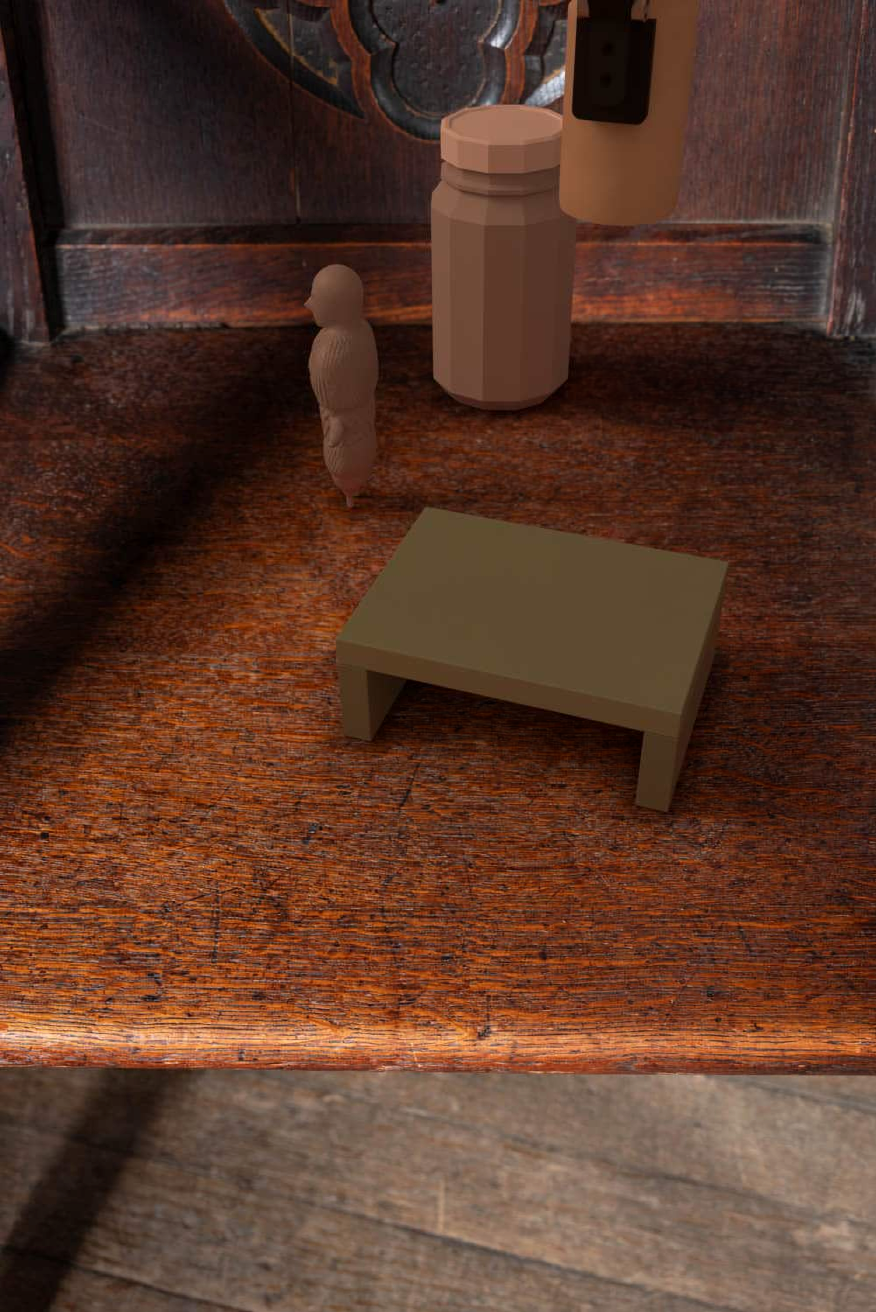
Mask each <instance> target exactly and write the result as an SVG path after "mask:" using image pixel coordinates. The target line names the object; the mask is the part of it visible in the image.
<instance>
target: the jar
mask: <svg viewBox="0 0 876 1312" xmlns="http://www.w3.org/2000/svg"><path fill="white" fill-rule="evenodd" d="M562 121H563V114H560V113H558V112H556V111H554V110H551V109H550V108H545V107H538V106H531V105H525V104H486V105H479V106H473V107H467V108H462V109H460V110H457V111H455V112H454V113H451V114H449V115H447V116H445V117H444V118H442V119H441V123H440V158H441V159H442V160H444V162H441V166H440V167H441V168H440V181H439V183H438V184H437V185H436V186H435V188H434V189H433V191H432V193H431V202H430V232H431V233H430V235H431V236H430V237H431V238H430V241H431V244H430V245H431V293H432V294H431V302H432V304H431V305H432V307H431V309H432V311H431V313H432V373H433V377H432V378H433V379H434V381H435V382H436V383H438V385H439V386H440V387H441V388H442V389H443V391H444V392H445V393H447V394H448V395H449V396H450V397H452V398H453V399H454V400H455V401H456V402H457V403H458V404H462V405H466V406H468V407H472V408H476V409H479V410H483V411H518V410H522V409H527V408H530V407H534V406H537V405H540V404H542V403H544V402H545V401H546V400H547V399H548V398H550V397H551V396H553V394H554V393H556V392H557V390H558V389H559V388H560V387H562V386H563V384H564V383H565V382H566V381H567V380H568V379H569V363H570V362H569V361H570V345H571V331H572V330H571V328H572V311H573V296H574V295H573V294H574V277H575V264H576V263H575V261H576V242H577V228H578V226H577V225H578V224H577V223H578V219H576V218H574V217H572V216H570V215H568V214H566V213H565V212H564V211H563V210H562V209H561V207H560V201H559V182H560V161H561V141H562Z"/></svg>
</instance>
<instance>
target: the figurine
mask: <svg viewBox="0 0 876 1312" xmlns="http://www.w3.org/2000/svg"><path fill="white" fill-rule="evenodd" d="M310 295H311V296H309V298H308V299H307V300H306V301H305V302H304V304H303V306H304V307H305V308H306V309H307V310H309V312H311V313H312V315H313V318H314V321H315V324H316V326H318V327H319V328H321V329H320V330H319V332H318V333H317V334H316V336H315V338H314V339H313V340H312V341H313V342H312V345H311V351H310V356H309V359H308V365H307V367H308V369H309V374H310V376H309V379H310V385H311V387H312V390H313V392H314V395H315V397H316V399H317V400H316V401H317V403H318V404H319V407H318V409H319V414H320V420H321V427H322V428H321V429H322V432H323V437H324V438H323V449H322V450H323V451H322V452H323V459H324V462H325V463H324V464H325V466H326V468H327V471H328V472H329V474H330V475H331V478H332V481H333V483H334V485H335V486H336V487H337V488H339V490H340V491H342V493H343V495H345V498H346V507H347V508H349V509H351V508H354V507H355V502H354V497H359V496H360V495H361V494H360V488H362V487H363V486H364V485H365V484H366V483H367V482H368V480H369V478H370V477H371V474H372V470H373V464H374V461H375V459H376V456H377V451H378V448H377V447H378V443H377V442H378V441H377V439H378V438H377V431H376V428H375V425H376V414H377V413H376V412H377V411H376V410H377V406H376V400H377V399H376V398H375V390H376V388H377V384H378V381H379V358H378V349H377V346H376V338H375V335H374V331H373V328H372V326H371V325H370V324H369V322H368V320H367V319H364V318H363V317H362V315H363V308H364V298H365V292H364V285H363V281H362V279H361V278H360V276H359V275H358V274H357V272H356V271H355V270H353V269H352V268H350V267H349V266H346V265H344V264H340V263H339V264H338V263H336V264H335V263H334V264H329V265H327V266H325V267H323V268H322V269H320V270H319V271H318V272H317V273H316V275H315V276H314V279H313V281H312V285H311V293H310Z"/></svg>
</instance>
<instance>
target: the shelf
mask: <svg viewBox="0 0 876 1312" xmlns="http://www.w3.org/2000/svg"><path fill="white" fill-rule="evenodd" d="M729 568H730V561H726V560H722V559H721V560H720V559H715V558H711V557H710V558H709V557H704V556H698V555H694V554H693V555H692V554H687V553H682V552H678V551H677V552H676V551H671V550H666V549H661V548H655V547H649V546H643V545H638V544H633V543H627V542H622V541H617V540H612V539H605V538H599V537H595V536H588V535H583V534H577V533H572V532H566V531H561V530H555V529H550V528H545V527H540V526H534V525H529V524H523V523H517V522H511V521H506V520H501V519H496V518H490V517H485V516H481V515H480V516H478V515H473V514H468V513H463V512H457V511H452V510H447V509H442V508H441V509H440V508H435V507H431V506H430V507H429V506H425V507H424V508H423V509H422V511H421V513H420V514H419V516H418V517H417V519H416V520H415V522H414V523H413V525H412V526H411V527H410V529H409V530H408V532H407V534H406V535H405V536H404V537H403V539H402V541H401V542H400V543H399V545H398V547H397V548H396V550H395V551H394V552H393V554H392V555H391V556H390V558H389V560H388V561H387V563H386V564H385V565H384V567H383V568H382V569H381V571H380V573H379V574H378V576H377V577H376V579H375V580H374V581H373V583H372V584H371V586H370V588H368V591H367V592H366V593H365V594H364V596H363V597H362V599H361V600H360V602H359V604H357V606H356V608H355V609H354V610H353V613H351V615H350V616H349V618H348V620H347V621H346V622H345V624H344V625H343V627H342V628H341V630H340V631H339V633H338V634H337V635H336V637H335V650H336V662H337V664H336V665H337V677H338V678H337V679H338V690H339V702H340V703H339V704H340V715H341V726H342V727H341V728H342V735H343V736H346V737H349V738H353V739H358V740H362V741H367V742H372V740H373V739H374V737H375V735H376V734H377V732H378V731H379V728H380V727H381V725H382V723H383V722H384V719H385V718H386V716H387V715H388V714H389V712H390V710H391V708H392V706H393V705H394V703H395V701H396V700H397V698H398V696H399V695H400V694H401V691H402V689H403V688H404V687H405V684H407V683H406V682H407V681H408V680H410V681H414V682H415V681H416V682H421V683H424V684H429V685H434V686H438V687H443V688H447V689H450V690H455V691H461V692H465V693H470V694H475V695H479V696H483V697H487V698H493V699H496V700H500V701H505V702H509V703H515V704H519V705H523V706H526V707H527V706H528V707H533V708H536V709H542V710H546V711H550V712H555V713H560V714H563V715H569V716H573V717H578V718H582V719H587V720H590V721H596V722H599V723H604V724H609V725H613V726H616V727H617V726H618V727H622V728H627V729H630V730H636V731H640V732H643V738H642V746H641V753H640V754H641V755H640V762H639V771H638V777H637V788H636V795H635V806H638V807H642V808H646V809H651V810H655V811H658V812H663V813H668V812H669V809H670V806H671V803H672V799H673V796H674V793H675V790H676V785H677V782H678V779H679V776H680V772H681V769H682V766H683V764H684V763H683V762H684V759H685V756H686V752H687V750H688V746H689V742H690V739H691V735H692V732H693V729H694V725H695V722H696V720H697V715H698V712H699V710H700V706H701V702H702V700H703V696H704V693H705V690H706V685H707V682H708V679H709V676H710V672H711V670H712V665H713V663H714V659H715V656H716V649H717V643H718V637H719V632H720V625H721V618H722V612H723V607H724V600H725V593H726V587H727V581H728V575H729Z"/></svg>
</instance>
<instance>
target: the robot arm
mask: <svg viewBox="0 0 876 1312" xmlns="http://www.w3.org/2000/svg"><path fill="white" fill-rule="evenodd" d="M650 5H651V0H577V21H576V40H575V58H574V77H573V95H572V113H573V115H574V117H575V118H577V119H579V120H588V121H599V122H609V123H620V124H630V125H639V124H641V123H642V122H643V121H644V120H645V119H646V118H647V116H648V111H649V100H650V89H651V78H652V67H653V56H654V45H655V34H656V23H657V19H651V18H648V16H649V11H650Z"/></svg>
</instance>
